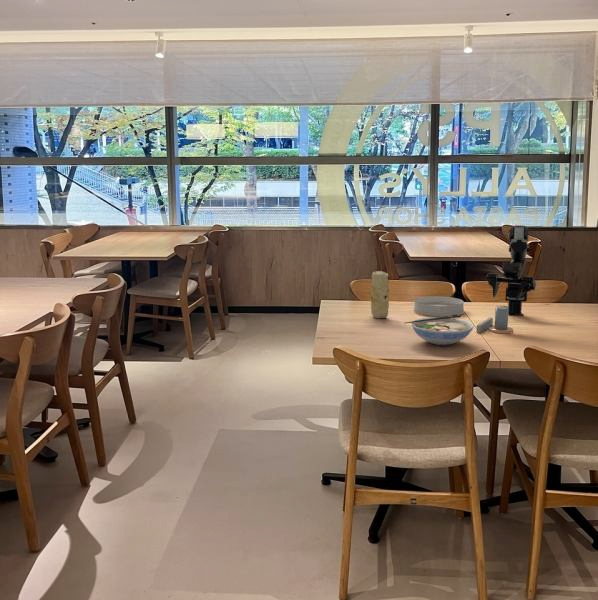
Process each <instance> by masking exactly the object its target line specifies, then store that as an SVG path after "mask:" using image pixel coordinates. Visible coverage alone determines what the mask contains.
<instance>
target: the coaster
mask: <svg viewBox="0 0 598 600" xmlns="http://www.w3.org/2000/svg"><path fill="white" fill-rule="evenodd" d="M494 327H495V325H494V326H493V325H492V326H490V327H488V331H489V332H490V333H494V332H495V333H494V334H503V333H504V334H511V333H510V332H512V331H513V332H514V329H513V328H512V327H510V326H509V327H508V329H507V330H496V329H494ZM513 332H512V333H513Z"/></svg>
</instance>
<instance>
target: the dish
mask: <svg viewBox="0 0 598 600" xmlns="http://www.w3.org/2000/svg"><path fill="white" fill-rule="evenodd" d="M413 305H414V306H413V311H414V313H416V314H418V313H419V315H423V316H429V317H443V316H450V315H456V314H457V315H460V316H461V315H463V314H464V311H465V309H464V305H465V304H464V300H462V299H461V298H456V297H451V296H440V295H439V296H438V295H437V296H436V295H435V296H434V295H433V296H432V295H431V296H421V297H418V298H415V299H414V304H413Z"/></svg>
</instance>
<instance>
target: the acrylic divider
mask: <svg viewBox="0 0 598 600" xmlns="http://www.w3.org/2000/svg"><path fill="white" fill-rule="evenodd" d="M493 321H494V317H488V318H486V319H485V320H482V322H480V323H478V324H477V325H476V333H477V334H480V333H482V332H484V331H485V330H487V329H489V328H490V327H493V323H494V322H493Z"/></svg>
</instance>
